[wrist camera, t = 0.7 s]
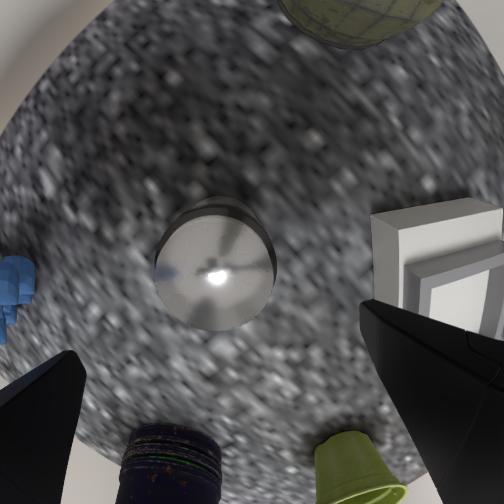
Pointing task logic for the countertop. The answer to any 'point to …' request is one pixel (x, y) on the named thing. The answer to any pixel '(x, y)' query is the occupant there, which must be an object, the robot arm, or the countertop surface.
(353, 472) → the plant pot
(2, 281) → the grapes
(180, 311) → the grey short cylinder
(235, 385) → the countertop surface
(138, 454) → the storage jar
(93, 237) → the countertop surface
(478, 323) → the grey open box
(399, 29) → the thermos
